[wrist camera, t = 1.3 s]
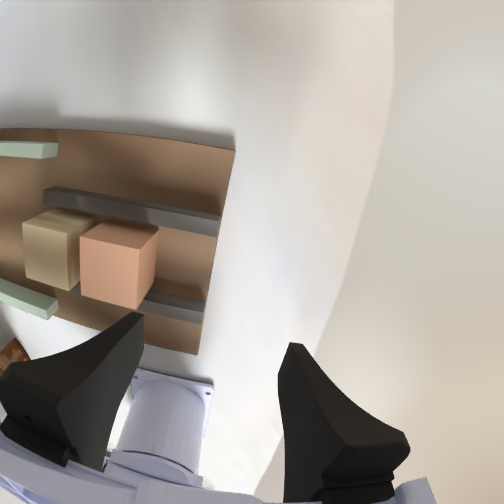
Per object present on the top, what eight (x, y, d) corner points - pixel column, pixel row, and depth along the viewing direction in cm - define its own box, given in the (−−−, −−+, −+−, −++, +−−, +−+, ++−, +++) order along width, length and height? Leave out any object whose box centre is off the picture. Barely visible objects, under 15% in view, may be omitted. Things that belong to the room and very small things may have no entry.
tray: (58, 308, 22) (47, 320, 20) (-17, 279, 21) (-28, 287, 19) (58, 143, 17) (42, 144, 15) (-23, 140, 16) (-37, 142, 14)
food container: (29, 399, 28) (-1, 447, 19) (-2, 369, 27) (-36, 414, 17) (56, 370, 26) (16, 432, 16) (17, 331, 24) (-31, 386, 15)
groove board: (198, 347, 24) (194, 367, 22) (-10, 283, 22) (-23, 293, 20) (235, 151, 19) (233, 151, 16) (-15, 129, 17) (-32, 131, 14)
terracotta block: (153, 281, 21) (136, 309, 17) (105, 270, 20) (81, 295, 17) (159, 229, 19) (139, 249, 16) (107, 219, 19) (79, 236, 15)
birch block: (94, 267, 20) (68, 291, 17) (54, 256, 20) (26, 277, 16) (95, 216, 19) (66, 233, 15) (53, 208, 19) (22, 222, 15)
